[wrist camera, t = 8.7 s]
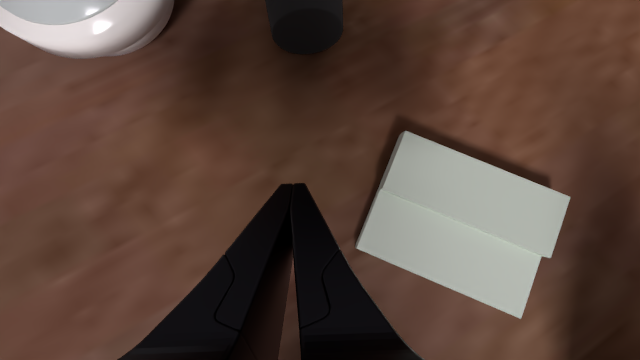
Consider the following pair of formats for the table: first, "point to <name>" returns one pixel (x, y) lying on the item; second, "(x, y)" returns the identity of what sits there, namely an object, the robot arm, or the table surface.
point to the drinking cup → (305, 24)
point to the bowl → (86, 25)
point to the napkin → (462, 223)
